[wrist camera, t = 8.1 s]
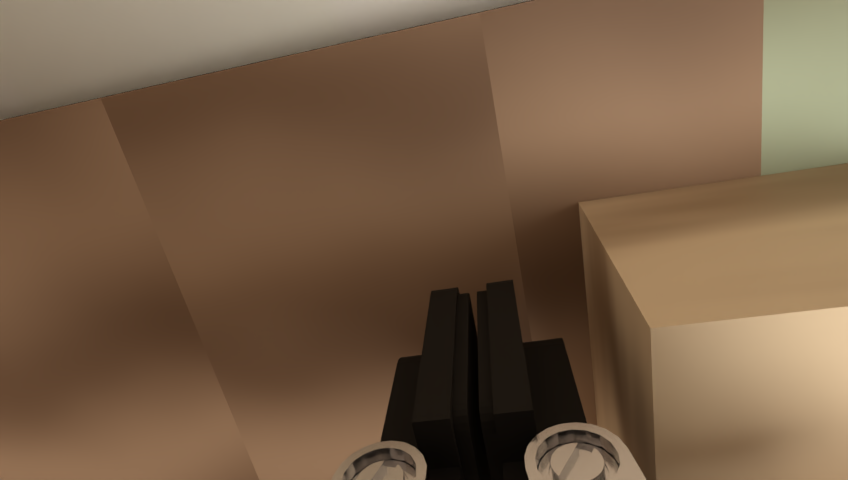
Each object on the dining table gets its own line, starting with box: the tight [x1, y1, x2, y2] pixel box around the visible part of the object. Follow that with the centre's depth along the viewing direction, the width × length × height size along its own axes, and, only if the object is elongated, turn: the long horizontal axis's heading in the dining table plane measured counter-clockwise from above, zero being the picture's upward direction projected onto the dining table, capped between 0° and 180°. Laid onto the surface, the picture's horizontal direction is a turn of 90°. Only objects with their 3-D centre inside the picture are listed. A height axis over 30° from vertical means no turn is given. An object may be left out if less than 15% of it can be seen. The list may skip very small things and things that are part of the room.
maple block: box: [578, 163, 848, 480], centre depth 10 cm, size 6×6×5 cm
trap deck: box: [0, 0, 848, 480], centre depth 16 cm, size 24×52×2 cm, turn 102°
